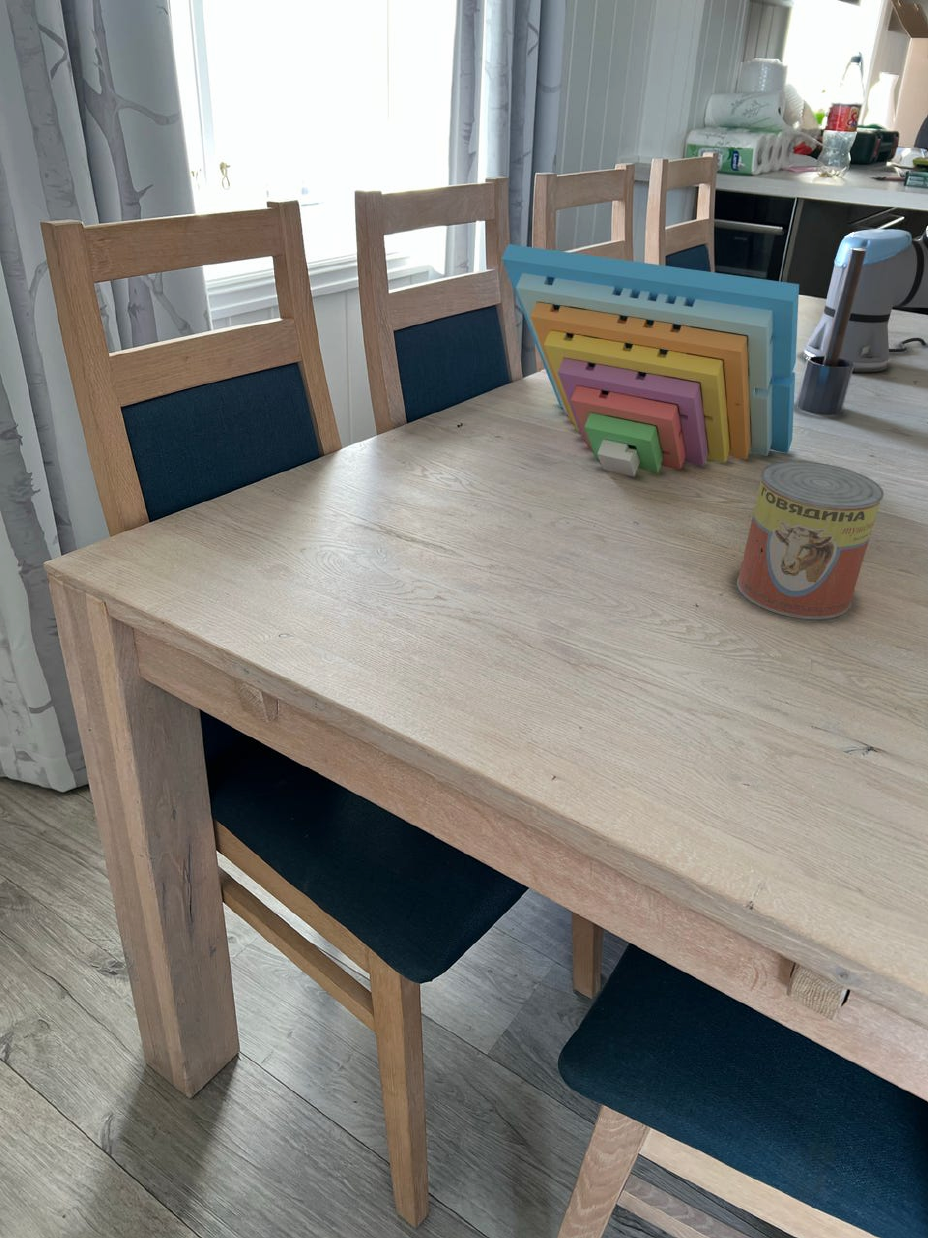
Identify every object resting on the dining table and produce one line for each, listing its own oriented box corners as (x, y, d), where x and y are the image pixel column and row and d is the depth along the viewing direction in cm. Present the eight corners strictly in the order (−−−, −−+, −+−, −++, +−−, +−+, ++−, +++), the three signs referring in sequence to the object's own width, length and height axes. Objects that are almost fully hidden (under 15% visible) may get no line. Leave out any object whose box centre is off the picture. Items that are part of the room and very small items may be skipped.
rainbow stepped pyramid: (524, 493, 143) (455, 366, 112) (564, 393, 147) (508, 243, 115) (754, 550, 130) (748, 424, 98) (792, 439, 133) (799, 284, 102)
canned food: (727, 602, 94) (752, 490, 88) (746, 558, 103) (770, 453, 97) (846, 630, 90) (880, 515, 84) (854, 582, 99) (886, 475, 93)
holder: (801, 401, 155) (812, 353, 151) (844, 410, 152) (857, 360, 148) (790, 412, 150) (802, 361, 146) (835, 421, 147) (848, 370, 143)
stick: (813, 404, 152) (852, 247, 140) (827, 407, 151) (867, 249, 139) (810, 408, 150) (849, 249, 138) (824, 410, 150) (865, 250, 137)
